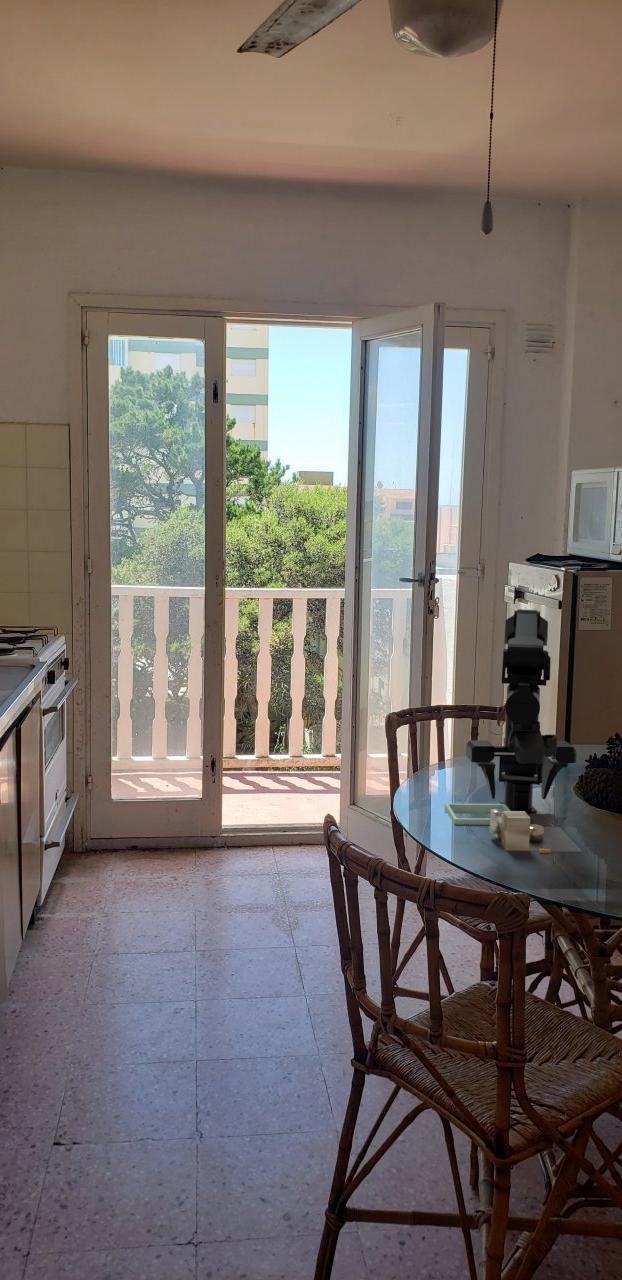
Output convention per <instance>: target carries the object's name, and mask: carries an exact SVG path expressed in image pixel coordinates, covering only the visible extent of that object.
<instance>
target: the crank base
mask: <svg viewBox="0 0 622 1280" xmlns="http://www.w3.org/2000/svg"><path fill="white" fill-rule="evenodd" d="M543 827H544V835H543V840H539V841H533V840H529V850H506V849H505V847H504V846H503V845H502V843H501V841H502V839H497V838H496V837H495V834H493V833H491V834H492V835H493V837H494V838H495V840H496V841H497V842H498V843H499V845H500V846H501V848H502V849H503V851H504V852H534V853H535V852H537V853H539V854H551V853H552V852H554V853H555V852H557V853H559V852H560V853H561V852H562V853H563V852H564V853H566V852H568V853H569V852H570V853H572V852H573V853H576V852H577V853H578V852H579V853H583V850H582V849H581V848H580V847H579V846H578V845H577V844H576V843H575V842H574V841H573V840H572V838H571V837H570V836H569V835H568V834H567V833H566V832H565V831H564V829H562V827H560V826H543ZM487 829H489V830H490V826H487Z"/></svg>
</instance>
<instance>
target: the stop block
mask: <svg viewBox="0 0 622 1280" xmlns="http://www.w3.org/2000/svg"><path fill="white" fill-rule="evenodd" d="M530 824H531V816H529V814H528V813H526V812H525V811H503V819H502V841H501V843H502V845H503V846H504V847H505V849H506V850H529V836H530Z"/></svg>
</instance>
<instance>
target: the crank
mask: <svg viewBox="0 0 622 1280" xmlns="http://www.w3.org/2000/svg"><path fill="white" fill-rule="evenodd" d="M489 818H490V825H489V827H490V829H489V832H490V833H491V834H492V833H493V834H495V837H496V838H497V839H502V819H503V810H499V809H492V810H491V813H490V817H489ZM544 827H545V826H542V825H540V824H535V823H530V836H529V840H533V841H539V840H543V835H544ZM493 834H492V835H493ZM495 837H494V838H495ZM496 838H495V839H496ZM497 839H496V840H497Z"/></svg>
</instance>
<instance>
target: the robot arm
mask: <svg viewBox="0 0 622 1280" xmlns="http://www.w3.org/2000/svg"><path fill="white" fill-rule="evenodd" d="M513 612H514V614H513V615H512V616H510V617H508V618H507V619H505V623H504V625H505V626H504V627H505V628H504V645H507V648H503V649H502V650H503V651H502V667H501V668H502V669H501V670H502V671H501V684H503V685H504V684H506V685H508V686H506V699H505V707H504V708H505V715H504V722H505V724H504V725H505V727H504V729H505V731H504V737H503V745H493V744H492V743H491V742H490V741H489V740H479V739H478V740H471V739H470V740H469V741H467V743H466V744H465V756H466V757H467V759H469V761H470V762H472V763H475V764H476V765H477V767H480V768H481V771H482V772H483V775H484V778H485V782H486V785H487V788H488V791H489V795H490V797H491V799H492V800H494V799H495V798H496V777H495V774H496V773H495V771H496V770H495V769H496V764H495V762H494V761H493V760H494V759H495V757H498V758H499V760H500V761H499V760H498V761H499V763H498V764H499V765H498V782H499V783H502V782H503V783H504V799H503V800H504V802H502V801H501V802H499V803H498V804H506V805H507V807H508V808H509V809H510V810H511V811H525V812H526V813H527V814H528V815H529V814H537V813H538V811H537V809H536V808H535V807H534V806H533V794H534V793H533V791H534V785H540V784H541V787H540V788H541V798H542V799H543V800H546V798H547V797H548V794H549V793H550V792H549V791H551V790H550V789H551V788H552V784H553V783H554V780H555V778H556V777H557V775H558V773H560V771H561V770H562V769H565V768H568V767H569V764H576V763H577V755H578V754H577V749H576V748H575V747H574V746H573V745H571V744H570V743H569V742H568V741H566V740H563V741H562V740H558V738H557V736H556V734H542V733H541V732H542V731H541V722H540V721H539V720H540V719H539V716H540V712H541V702H540V701H541V699H540V697H541V688H540V686H544V687H546V686H547V681H550V680H551V661H552V660H551V656H550V655H549V651H548V650H545V649H544V647H547V646H548V638H549V637H548V636H549V621H548V620H547V619H545V618H544V617H542V616H541V611H538V610H537V609H523V608H521V609H517V610H516V609H515V610H514V611H513ZM506 675H507V676H506ZM502 772H505V774H502Z"/></svg>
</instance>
